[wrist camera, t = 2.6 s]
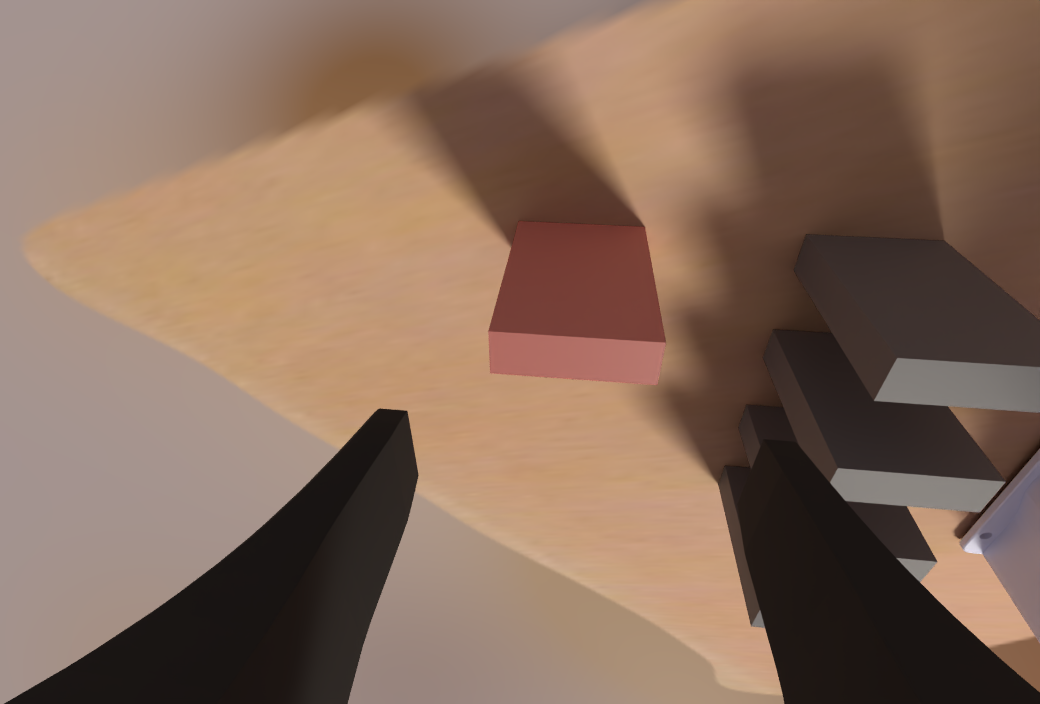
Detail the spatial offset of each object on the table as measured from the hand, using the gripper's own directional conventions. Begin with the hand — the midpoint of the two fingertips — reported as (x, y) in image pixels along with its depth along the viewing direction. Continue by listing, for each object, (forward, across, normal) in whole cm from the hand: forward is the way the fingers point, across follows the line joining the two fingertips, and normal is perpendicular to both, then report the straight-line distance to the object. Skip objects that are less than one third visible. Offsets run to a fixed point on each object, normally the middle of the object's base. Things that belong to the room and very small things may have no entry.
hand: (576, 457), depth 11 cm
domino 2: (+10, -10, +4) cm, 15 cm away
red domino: (+10, 0, 0) cm, 11 cm away
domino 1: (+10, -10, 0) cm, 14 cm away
